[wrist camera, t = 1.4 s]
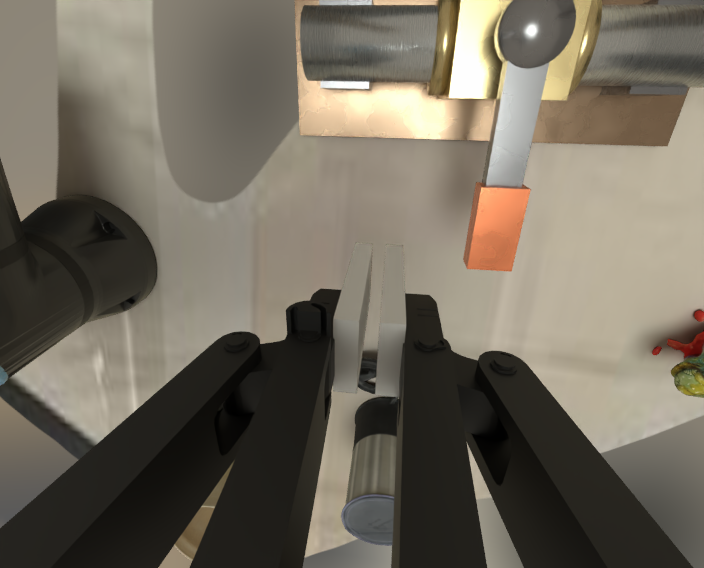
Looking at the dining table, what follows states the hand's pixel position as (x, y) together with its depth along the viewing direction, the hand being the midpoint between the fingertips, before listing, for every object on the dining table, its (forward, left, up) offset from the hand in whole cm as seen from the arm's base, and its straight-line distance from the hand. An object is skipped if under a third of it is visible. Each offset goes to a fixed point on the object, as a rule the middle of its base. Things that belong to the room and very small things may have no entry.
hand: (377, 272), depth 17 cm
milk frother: (+1, -31, -25) cm, 40 cm away
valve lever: (+8, +5, -12) cm, 15 cm away
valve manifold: (+8, +11, -24) cm, 28 cm away
